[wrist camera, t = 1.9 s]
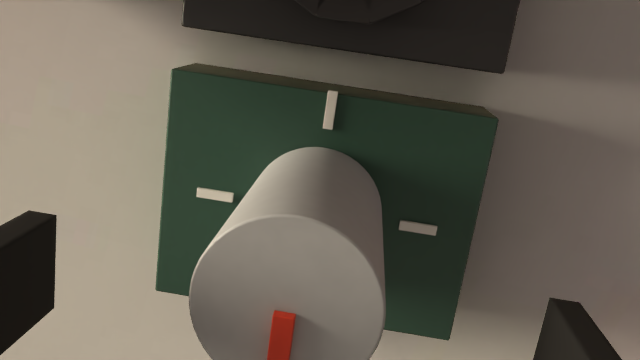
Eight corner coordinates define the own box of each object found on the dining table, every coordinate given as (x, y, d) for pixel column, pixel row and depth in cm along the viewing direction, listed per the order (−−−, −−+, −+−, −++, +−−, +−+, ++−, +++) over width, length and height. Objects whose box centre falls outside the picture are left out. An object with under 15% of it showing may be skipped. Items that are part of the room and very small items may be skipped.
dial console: (194, 60, 25) (169, 66, 22) (484, 104, 24) (501, 116, 21) (177, 264, 27) (153, 294, 24) (440, 308, 26) (449, 345, 23)
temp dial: (258, 136, 22) (192, 202, 14) (392, 157, 22) (402, 237, 14) (244, 260, 23) (177, 385, 15) (370, 281, 23) (368, 418, 15)
